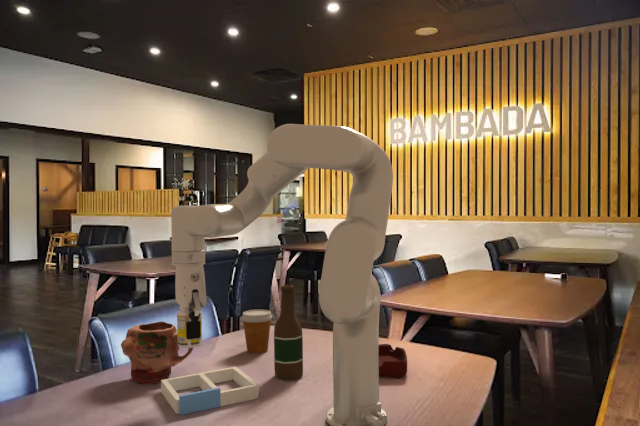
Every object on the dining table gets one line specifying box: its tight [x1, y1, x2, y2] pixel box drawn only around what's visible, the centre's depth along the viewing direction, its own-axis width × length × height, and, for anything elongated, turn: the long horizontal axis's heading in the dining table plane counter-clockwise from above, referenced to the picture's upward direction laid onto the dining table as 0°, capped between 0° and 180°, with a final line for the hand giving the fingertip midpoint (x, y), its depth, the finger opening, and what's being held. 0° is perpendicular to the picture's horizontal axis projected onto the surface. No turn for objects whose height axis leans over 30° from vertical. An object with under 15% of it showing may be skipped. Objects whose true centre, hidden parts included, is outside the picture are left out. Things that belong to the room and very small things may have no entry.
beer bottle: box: [273, 284, 304, 382], centre depth 133 cm, size 8×8×24 cm
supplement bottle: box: [176, 305, 203, 349], centre depth 118 cm, size 6×6×10 cm
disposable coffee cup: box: [241, 309, 273, 355], centre depth 157 cm, size 10×10×12 cm
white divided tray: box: [160, 366, 259, 416], centre depth 121 cm, size 16×19×4 cm
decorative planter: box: [120, 321, 194, 385], centre depth 133 cm, size 20×12×14 cm, turn 86°
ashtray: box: [378, 343, 408, 379], centre depth 136 cm, size 18×16×5 cm
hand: (189, 334), depth 118 cm, fingers closed on supplement bottle, 5 cm apart
